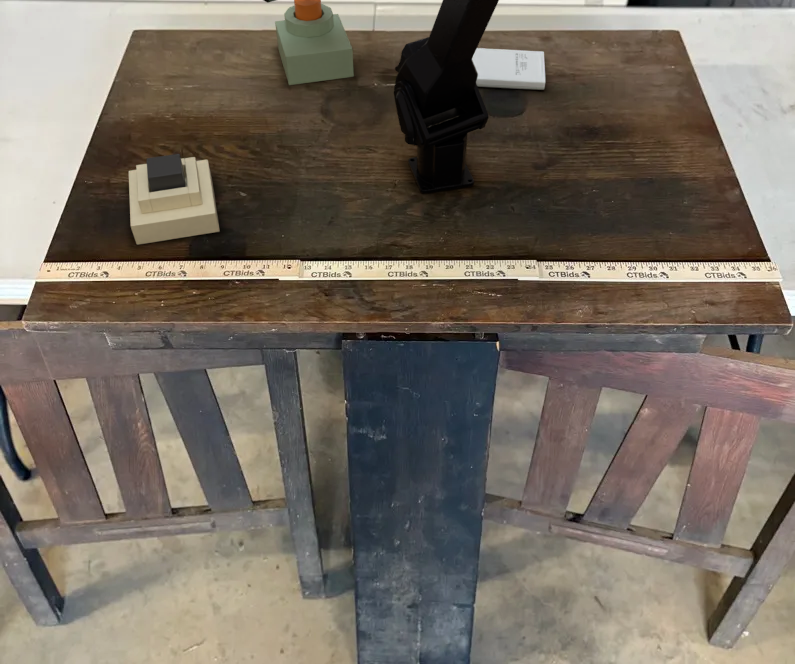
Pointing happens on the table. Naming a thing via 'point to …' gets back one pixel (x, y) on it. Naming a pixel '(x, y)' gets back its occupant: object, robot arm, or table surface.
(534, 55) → the hard drive
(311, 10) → the far key
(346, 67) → the far pedestal
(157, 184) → the near key
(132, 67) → the table surface
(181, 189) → the stepped pyramid pedestal
